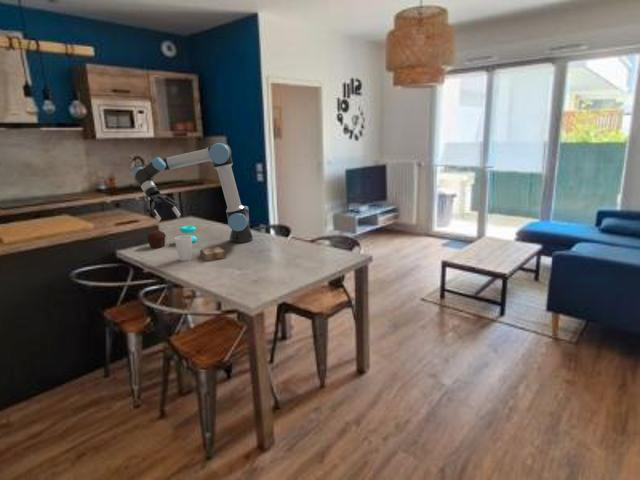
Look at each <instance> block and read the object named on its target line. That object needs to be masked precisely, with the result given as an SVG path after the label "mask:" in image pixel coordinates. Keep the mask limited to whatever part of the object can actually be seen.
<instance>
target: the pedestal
mask: <svg viewBox="0 0 640 480" xmlns="http://www.w3.org/2000/svg"><path fill="white" fill-rule="evenodd" d="M199 250H200V249H199ZM199 253H200V257H201V258H202V259H203V260H204V261H205V262H208V261H209V262H210V261H216V260H222V259H226V258H227V252H226V251H225V250H224V249H223V248H222V247H220V246H216V247H215V246H214V247H209V248H208V247H207V248H201V250H200V251H199Z"/></svg>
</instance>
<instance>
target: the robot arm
mask: <svg viewBox="0 0 640 480" xmlns="http://www.w3.org/2000/svg"><path fill="white" fill-rule="evenodd" d="M206 162H211V163H212V165H213V166H212V167H213V168H214V169H215V170H217V174H218V178H219V182H220V185H221V188H222V192H223V196H224V200H225V203H226V207H227V208H226V211H225V213H226V218H227V225H228V227H229V228H230V229H231V230H230V236H229V242H230V243H233V244H241V243H242V244H243V243H248V242H252V241H253V240H254V237H253V234H252V231H251V227H250V215H249V214H250V213H249V210H250V209H249V206H247V205H243V204H242V202H241V199H240V195H239V191H238V188H237V187H238V186H237V184H236V180H235V175H234V172H233V168H232V166H233V164H234V162H233V157H232V149H231V147H230V145H228V144H227V143H226V142H217V143H214V144H212V145H210V146H207V148H204V149H200V150H196V151H195V150H194V151H190V152H185V153H181V154H177V155H173V156H169V157H163V158H161V157H159V156H156V157H155V158H154V159H152V160H151V161H150V162H149V163H148V164H146V165H145V166H144V167H143V166H138V167H135V168H134V169H133V170H132V176H133V178H134V180H135V181H136V182H137V184H138V185H139V187H140V188H141V189H142V191H143V193H144V194H145V198H144V202H145V210H146V212H147V213H149V214H151V215H152V216H153V217H155V219H156V220H157V222H160V221H161V220H162V217H161V216H160V214H159V213H158V212H157V209H155V205H156V204H164V205H166V206H168V207H169V208H171V210H172V211H173V213H174V214H175V215H176V217H177V218H180V217H181V213H180V211H179V209H178V207H177V206H178V205H179V204H178V203H177V201H175V200H174V199H172V198H171V197H170V196H168V195H167V194H166V193H164V194H161V191H160V189H158V187H157V186H156V184H155V182H154V181H153V180H152V179H153V178H154V177H156V176H158V174H160V173H162V172H165V171H170V170H173V169H178V168H182V167H183V168H184V167H188V166H192V165H197V164H201V163H206ZM150 202H151V205H150Z"/></svg>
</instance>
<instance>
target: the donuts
mask: <svg viewBox="0 0 640 480" xmlns="http://www.w3.org/2000/svg"><path fill="white" fill-rule="evenodd" d="M179 230H180V232H181V233H182V234H191V233H194V232H196V230H197V228H196V227H195V226H194V225H185V226H184V225H183V226H181V227H180V228H179ZM189 236H192V244H194V243H196V242H197V240H198V237H196V235H193V234H192V235H189Z"/></svg>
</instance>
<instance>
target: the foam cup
mask: <svg viewBox="0 0 640 480" xmlns="http://www.w3.org/2000/svg"><path fill="white" fill-rule="evenodd" d="M192 236H193V235H192ZM192 236H189V235H188V234H186V235H185V234H183V235H178V236H175V237H174V243H175V248H176V250H177V255H178V258H179V261H182V262H186V261H190V260H191V259H192V252H193V251H192V250H193V249H192V247H193V243H192Z"/></svg>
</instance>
